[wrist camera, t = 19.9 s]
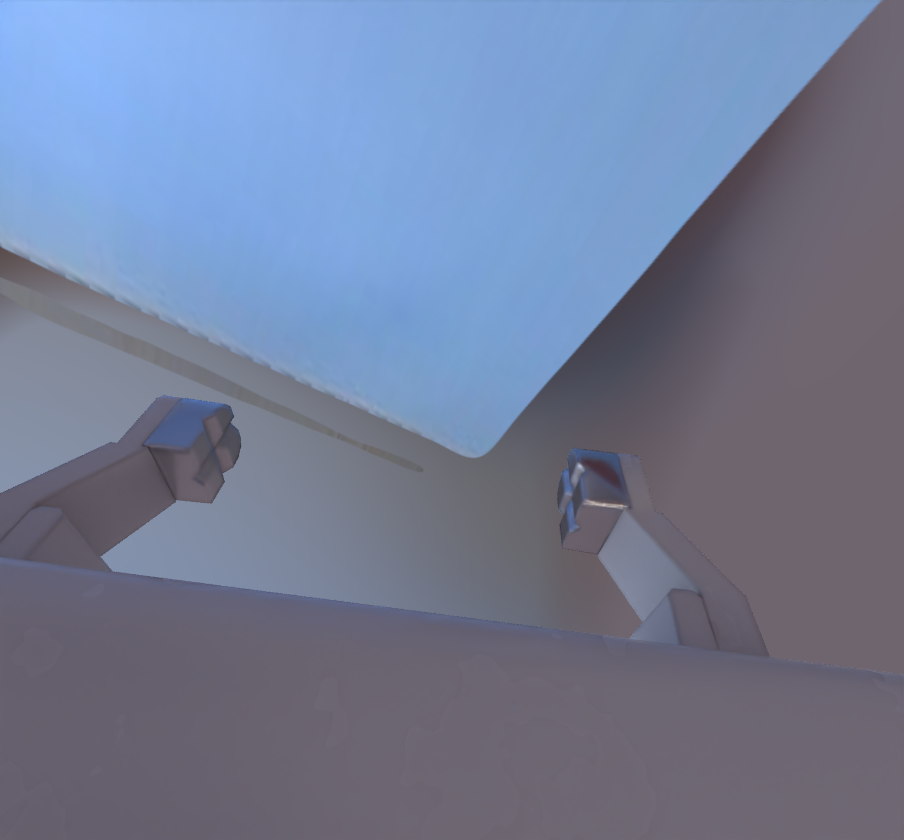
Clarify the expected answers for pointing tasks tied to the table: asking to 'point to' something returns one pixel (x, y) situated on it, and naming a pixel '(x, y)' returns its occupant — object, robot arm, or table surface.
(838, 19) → the table surface
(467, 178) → the table surface
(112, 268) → the table surface
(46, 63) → the table surface
